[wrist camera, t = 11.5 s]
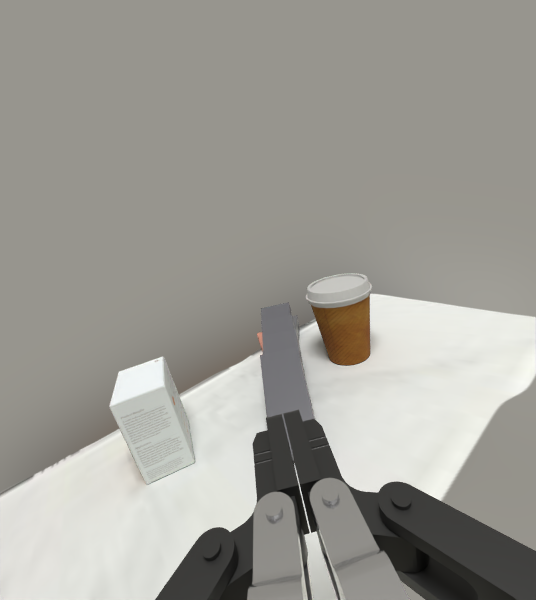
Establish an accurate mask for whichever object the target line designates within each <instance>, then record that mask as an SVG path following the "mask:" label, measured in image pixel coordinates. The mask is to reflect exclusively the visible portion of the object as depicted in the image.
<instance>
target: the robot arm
mask: <svg viewBox="0 0 536 600" xmlns="http://www.w3.org/2000/svg"><path fill="white" fill-rule="evenodd" d="M283 415H284V419H285V423H286V427H287V432H288V436H289V440H290V445H291V449H292V453H293V457H294V462H295V466H296V470H297V474H298V479H299V483H300V487H301V491H302V495H303V500H304V504H305V508H306V512H307V516H308V521H309V525H310V529H311V533H312V532H315V531H317V534H318V538H319V542H320V546H321V550H322V555H323V559H324V562H325V565H326V568H327V571H328V574H329V577H330V580H331V583H332V586H333V589H334V593H335V596H336V599H337V600H410V598H409V596H408V594H407V592H406V590H405V588H404V587H403V585H402V582H403V583H405V584H406V585H407V586H409V587H410V588H411V589H412V590H414V591H415V592H416V593H418V594H419V595H420V596H422V597H423V598H424V599H425V600H536V551H534V550H532V549H531V548H528V547H527V546H525V545H523V544H521V543H519V542H517V541H515V540H513V539H512V538H510V537H508V536H506V535H504V534H502V533H500V532H498V531H496V530H494V529H492V528H490V527H489V526H487V525H485V524H483V523H481V522H479V521H477V520H475V519H474V518H472V517H470V516H468V515H466V514H464V513H462V512H460V511H458V510H456V509H454V508H453V507H451V506H449V505H447V504H445V503H443V502H441V501H439V500H437V499H435V498H434V497H432V496H430V495H428V494H426V493H424V492H422V491H420V490H418V489H416V488H415V487H413V486H411V485H409V484H406V483H403V482H390V483H387V484H385V485H384V486H383V487H382V488H381V489H380V491H379V493H374V492H363V491H359V490H356V489H354V488H352V487H350V486H349V485H348V484H347V483H346V482H345V481H344V479H343V478H342V476H341V474H340V471H339V469H338V466H337V463H336V461H335V458H334V456H333V453H332V451H331V448H330V446H329V443H328V441H327V438H326V436H325V433H324V431H323V428H322V426H321V425H320V424H319V423H318V422H317V421H316V420H315V419H310V420H306V421H302V418H301V414H300V411H299V410H295V411H291V412H287V413H283ZM266 422H267V428H268V430H267V431H263V432H259V433H257V434H256V437H255V439H254V442H253V452H254V463H255V478H256V490H257V504H256V507H255V509H254V512H253V514H252V516H251V517H250V518H249V519H248V520H247V521H246V522H245V523H244V524H242V525H241V526H239V527H238V528H236V529H235V530H233V531H232V532H229V531H228V530H227V529H224V528H220V527H218V528H212V529H210V530H208V531H206V532H205V533H203V534H202V535H201V536H200V537H199V538H198V540H197V541H196V542H195V544H194V545H193V547H192V548H191V549H190V551H189V552H188V554H187V555H186V557H185V558H184V559H183V561H182V562H181V564H180V565H179V567H178V568H177V569H176V571H175V572H174V574H173V575H172V576H171V578H170V579H169V581H168V582H167V584H166V585H165V586H164V588H163V589H162V591H161V592H160V594H159V595H158V596H157V598H156V599H155V600H313V592H312V585H311V578H310V571H309V564H308V559H307V557H308V552H307V546H306V542H305V537H304V535H305V534H309V529H308V524H307V520H306V516H305V511H304V507H303V503H302V498H301V494H300V489H299V485H298V481H297V476H296V472H295V468H294V463H293V459H292V455H291V450H290V446H289V442H288V438H287V433H286V429H285V425H284V421H283V417H282V414H279V415H275V416H271V417H267V418H266ZM400 580H401V581H402V582H401V581H400Z"/></svg>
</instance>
